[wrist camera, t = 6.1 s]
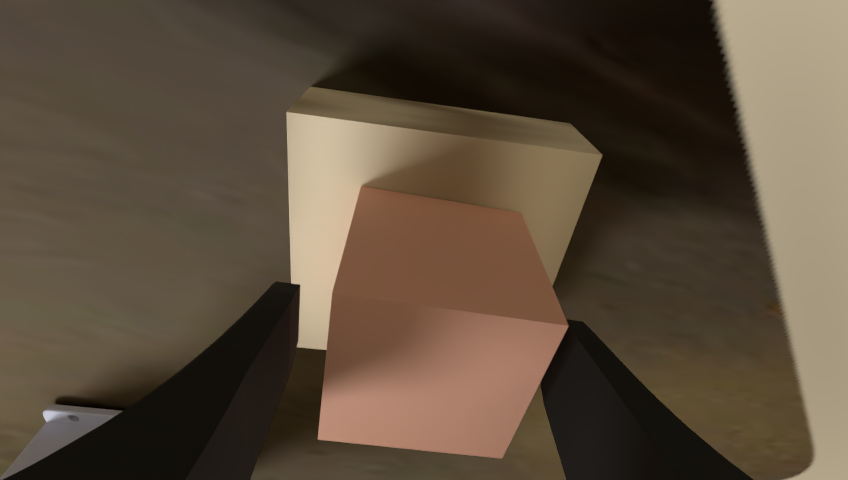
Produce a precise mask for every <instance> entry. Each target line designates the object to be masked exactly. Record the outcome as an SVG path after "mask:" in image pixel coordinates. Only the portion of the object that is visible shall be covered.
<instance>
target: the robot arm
mask: <svg viewBox="0 0 848 480" xmlns="http://www.w3.org/2000/svg"><path fill="white" fill-rule="evenodd" d="M299 309H300V285H299V284H291V283H284V282H275V283H274V284H272V285H271V286H270V288H269V289H268V290H267V291H266V292H265V293H264V294H263V295H262V296H261V297H260V298H259V299H258V301H257V302H256V303H255V304H254V305H253V306H252V307H251V308H250V309H249V310H248V311H247V312H246V313H245V314H244V315H243V316H242V317H241V318H240V319H239V320H238V321H237V322H235V323H234V324H233V325H232V326H231V327H230V328H229V329H228V330H227V331H226V332H225V333H224V334H223V335H222V336H221V337H219V338H218V339H217V340H216V341H215V342H214V343H213V344H211V345H210V346H209V347H208V348H207V349H206V350H204V351H203V352H202V353H201V354H200V355H198V356H197V357H196V358H195V359H194V360H193V361H191V362H190V363H189V364H188V365H186V366H185V367H184V368H183V369H181V370H180V371H179V372H177V373H176V374H175V375H174V376H172V377H171V378H170V379H168V380H167V381H165V382H164V383H163V384H161V385H160V386H159V387H157V388H156V389H155V390H153V391H152V392H150V393H149V394H147V395H146V396H144V397H143V398H141V399H140V400H138V401H137V402H136V403H134V404H133V405H131V406H130V407H128V408H127V409H125V410H124V411H120V410H110V409H99V408H89V407H79V406H68V405H58V404H52V405H49V406H48V407H47V408H46V409H45V410H44V411H43V416H44V418H45V420H46V423H45V424H44V426H43V427H42V428H41V429H40V430H39V432H38V433H37V434H36V435H35V437H34V438H33V439H32V440H31V441H30V443H29V444H28V445H27V446H26V447H25V449H24V450H23V451H22V452H21V454H20V455H19V456H18V457H17V458H16V460H15V461H14V462H13V463H12V465H11V466H10V467H9V468H8V469H7V471H6V472H5V473H4V474H3V475H2V477H1V478H0V480H250V479H251V476H252V473H253V470H254V467H255V464H256V461H257V458H258V455H259V453H260V450H261V448H262V445H263V442H264V440H265V437H266V435H267V432H268V430H269V427H270V424H271V422H272V419H273V417H274V414H275V412H276V409H277V406H278V404H279V401H280V399H281V396H282V393H283V391H284V388H285V386H286V383H287V380H288V378H289V375H290V371H291V367H292V363H293V360H294V356H295V352H296V348H297V344H298V337H299ZM566 321H567V323H568V325H569V326H568V328H567V330H566V332H565V334H564V336H563V338H562V340H561V342H560V344H559V346H558V348H557V350H556V352H555V354H554V356H553V358H552V360H551V362H550V364H549V366H548V368H547V370H546V372H545V374H544V376H543V378H542V380H541V382H540V383H541V390H542V395H543V401H544V406H545V409H546V413H547V416H548V420H549V423H550V426H551V430H552V433H553V436H554V440H555V443H556V446H557V450H558V453H559V456H560V460H561V463H562V466H563V470H564V473H565V476H566V480H753V479H752V478H751V477H749V476H748V475H747V474H745V473H744V472H743V471H741V470H740V469H739V468H737V467H736V466H735V465H733V464H732V463H731V462H729V461H728V460H727V459H726V458H724V457H723V456H722V455H721V454H719V453H718V452H717V451H716V450H714V449H713V448H712V447H711V446H710V445H709V444H707V443H706V442H705V441H704V440H703V439H701V438H700V437H699V436H698V435H697V434H696V433H694V432H693V431H692V430H691V429H690V428H689V427H687V426H686V425H685V424H684V423H683V422H682V421H681V420H680V419H678V418H677V417H676V416H675V415H674V414H673V413H672V412H671V411H670V410H669V409H668V408H667V407H666V406H665V405H664V404H663V403H662V402H660V401H659V400H658V399H657V398H656V397H655V396H654V395H653V394H652V393H651V392H650V391H649V390H648V389H647V388H646V387H645V386H644V385H643V384H642V383H641V382H640V381H639V380H638V379H637V378H636V377H635V376H634V375H633V374H632V372H631V371H630V370H629V369H628V368H627V367H626V366H625V365H624V364H623V363H622V362H621V361H620V360H619V359H618V358H617V357H616V356H615V355H614V354H613V352H612V351H611V350H610V349H609V348H608V347H607V346H606V345H605V344H604V343H603V342H602V341H601V340H600V339H599V338H598V337H597V336H596V334H595V333H594V332H593V331H592V330H591V329H590V328H589V327H588V326H587V325H586V324H585V323H583V322H581V321H574V320H566Z"/></svg>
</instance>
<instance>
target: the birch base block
mask: <svg viewBox="0 0 848 480" xmlns="http://www.w3.org/2000/svg"><path fill="white" fill-rule="evenodd" d="M287 146H288V183H289V220H290V257H291V284H299V285H300V309H299V337H298V344H297V347H299V348H310V349H321V350H327V340H328V330H329V320H330V310H331V300H332V292H333V288H334V284H335V281H336V277H337V273H338V270H339V266H340V262H341V258H342V255H343V251H344V247H345V244H346V240H347V236H348V232H349V229H350V225H351V221H352V218H353V214H354V210H355V207H356V203H357V199H358V195H359V192H360V188H361V186H365V187H371V188H377V189H382V190H388V191H394V192H400V193H406V194H412V195H418V196H424V197H430V198H436V199H442V200H448V201H454V202H460V203H465V204H471V205H477V206H483V207H489V208H495V209H501V210H507V211H513V212H519V213H521V214H522V216H523V218H524V221H525V223H526V225H527V228H528V230H529V233H530V235H531V237H532V240H533V242H534V244H535V247H536V249H537V252H538V254H539V256H540V259H541V261H542V263H543V266H544V268H545V271H546V273H547V275H548V278H549V280H550V282H551V285H552V286H553V284H554V281H555V278H556V276H557V273H558V271H559V268H560V265H561V263H562V260H563V257H564V255H565V252H566V250H567V247H568V244H569V242H570V239H571V236H572V234H573V231H574V229H575V226H576V223H577V221H578V218H579V215H580V213H581V210H582V208H583V205H584V202H585V200H586V197H587V195H588V192H589V189H590V187H591V184H592V181H593V179H594V176H595V174H596V171H597V168H598V166H599V163H600V160H601V158H602V154H601V153H600V152H599V151H598V150H597V149H596V148H595V147H594V146H593V145H592V144H591V143H590V142H589V141H588V140H587V139H586V138H585V137H584V136H583V135H582V134H581V133H580V132H579V131H578V130H577V129H576V128H574V127H573V126H572V125H571V124H570V123H564V122H557V121H550V120H543V119H536V118H529V117H522V116H515V115H508V114H501V113H494V112H486V111H479V110H472V109H465V108H458V107H451V106H444V105H437V104H430V103H423V102H416V101H409V100H402V99H395V98H388V97H381V96H374V95H367V94H360V93H352V92H345V91H338V90H331V89H324V88H317V87H310V88H309V89H308V90H307V91H306V92H305V93H304V94H303V95H302V96H301V97H300V98H299V99H298V100H297V101H296V102H295V104H294V105H293V106H292V107H291V108H290V109H289V110H288V111H287Z"/></svg>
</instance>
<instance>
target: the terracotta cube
mask: <svg viewBox="0 0 848 480" xmlns="http://www.w3.org/2000/svg"><path fill="white" fill-rule="evenodd" d="M568 326H569V325H568V323H567V321H566V318H565V316H564V313H563V311H562V309H561V306H560V304H559V302H558V299H557V297H556V294H555V292H554V290H553V287H552V285H551V282H550V280H549V278H548V275H547V273H546V271H545V268H544V266H543V263H542V261H541V259H540V256H539V254H538V252H537V249H536V247H535V244H534V242H533V240H532V237H531V235H530V233H529V230H528V228H527V225H526V223H525V221H524V218H523V216H522V214H521V213H519V212H513V211H507V210H501V209H495V208H489V207H483V206H477V205H471V204H465V203H460V202H454V201H448V200H442V199H436V198H430V197H424V196H418V195H412V194H406V193H400V192H394V191H388V190H382V189H377V188H371V187H365V186H361V188H360V192H359V195H358V199H357V203H356V207H355V210H354V214H353V218H352V221H351V225H350V229H349V232H348V236H347V240H346V244H345V247H344V251H343V255H342V258H341V262H340V266H339V270H338V273H337V277H336V281H335V284H334V288H333V292H332V300H331V310H330V320H329V330H328V340H327V350H326V360H325V370H324V381H323V391H322V401H321V411H320V421H319V431H318V440H327V441H336V442H346V443H356V444H366V445H375V446H385V447H395V448H404V449H414V450H424V451H434V452H443V453H453V454H463V455H472V456H482V457H492V458H502V457H503V455H504V453H505V451H506V449H507V447H508V445H509V443H510V442H511V440H512V438H513V436H514V434H515V432H516V430H517V428H518V426H519V424H520V422H521V420H522V418H523V416H524V414H525V412H526V410H527V408H528V406H529V404H530V402H531V400H532V398H533V396H534V394H535V392H536V390H537V388H538V386H539V384H540V382H541V380H542V378H543V376H544V374H545V372H546V370H547V368H548V366H549V364H550V362H551V360H552V358H553V356H554V354H555V352H556V350H557V348H558V346H559V344H560V342H561V340H562V338H563V336H564V334H565V332H566V330H567V328H568Z"/></svg>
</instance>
